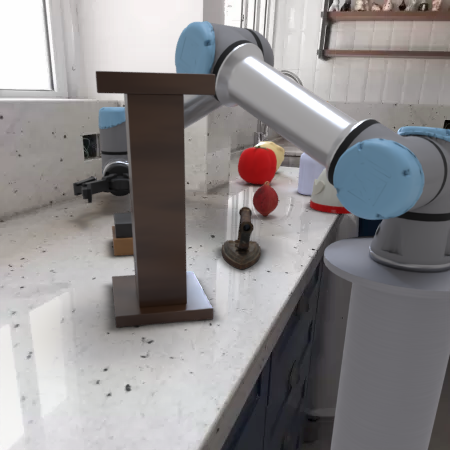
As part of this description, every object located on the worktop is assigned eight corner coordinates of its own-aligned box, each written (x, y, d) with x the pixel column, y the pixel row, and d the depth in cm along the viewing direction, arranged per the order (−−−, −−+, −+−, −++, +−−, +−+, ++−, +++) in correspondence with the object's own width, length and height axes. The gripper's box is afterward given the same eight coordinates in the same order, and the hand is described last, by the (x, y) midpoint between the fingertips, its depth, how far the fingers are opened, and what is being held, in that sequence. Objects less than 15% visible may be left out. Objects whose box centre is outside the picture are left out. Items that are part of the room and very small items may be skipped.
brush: (111, 223, 104) (109, 197, 102) (139, 222, 105) (137, 196, 103) (114, 256, 83) (112, 224, 81) (149, 254, 85) (147, 223, 82)
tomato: (241, 187, 145) (242, 147, 141) (233, 180, 158) (234, 143, 153) (280, 187, 147) (283, 147, 143) (270, 179, 159) (272, 143, 155)
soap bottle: (326, 197, 134) (335, 101, 124) (294, 194, 137) (300, 100, 127) (331, 191, 141) (341, 101, 132) (301, 189, 144) (308, 100, 135)
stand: (112, 285, 71) (95, 74, 59) (193, 280, 73) (191, 77, 62) (116, 327, 58) (95, 70, 47) (213, 319, 61) (215, 74, 50)
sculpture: (287, 172, 175) (290, 141, 170) (267, 175, 166) (268, 143, 162) (263, 168, 182) (264, 138, 177) (242, 172, 174) (243, 140, 169)
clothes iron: (259, 250, 89) (268, 201, 83) (261, 286, 80) (271, 233, 74) (221, 246, 88) (228, 196, 82) (219, 281, 79) (226, 228, 73)
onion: (261, 220, 108) (263, 184, 105) (247, 215, 113) (248, 180, 109) (282, 217, 111) (284, 182, 108) (267, 212, 115) (269, 178, 112)
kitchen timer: (322, 214, 114) (328, 148, 109) (302, 202, 127) (306, 142, 121) (375, 212, 117) (385, 148, 111) (351, 201, 130) (358, 142, 124)
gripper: (170, 192, 121) (185, 211, 102) (67, 195, 115) (61, 215, 96) (170, 161, 118) (184, 174, 99) (63, 162, 112) (57, 177, 93)
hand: (124, 195), depth 98 cm, fingers open, 13 cm apart
